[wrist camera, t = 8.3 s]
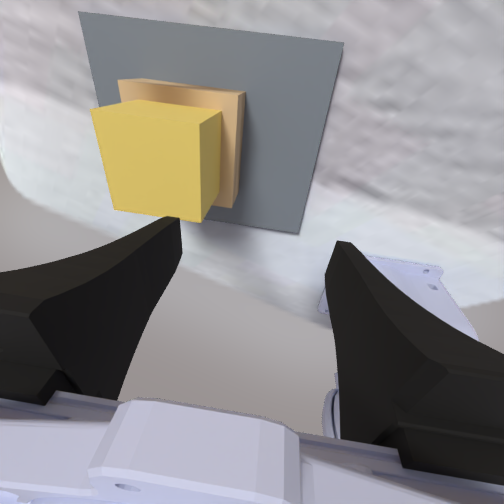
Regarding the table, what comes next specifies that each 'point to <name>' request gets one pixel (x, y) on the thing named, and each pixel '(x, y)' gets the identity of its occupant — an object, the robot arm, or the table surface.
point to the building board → (234, 78)
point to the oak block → (208, 99)
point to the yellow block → (160, 157)
